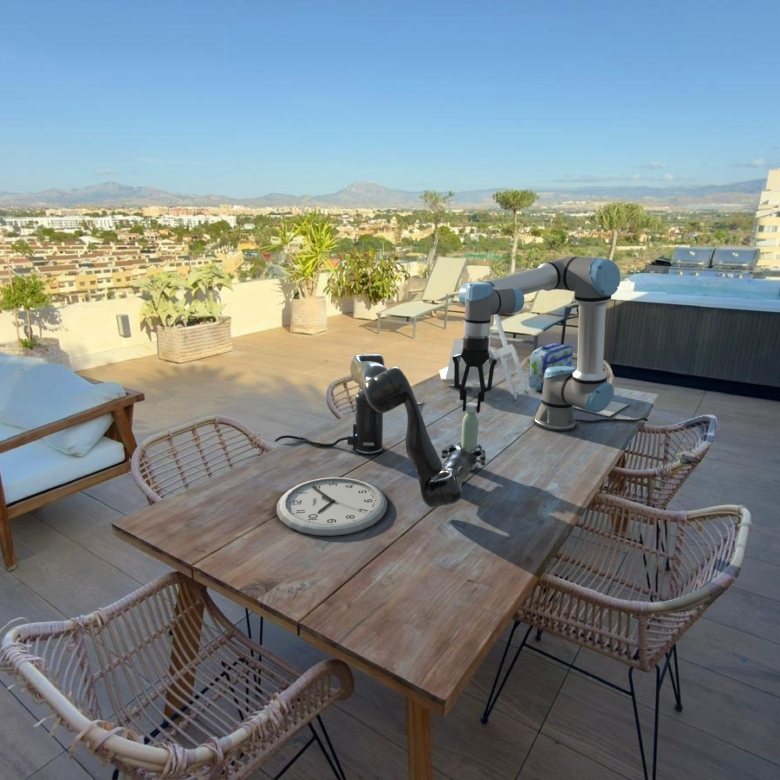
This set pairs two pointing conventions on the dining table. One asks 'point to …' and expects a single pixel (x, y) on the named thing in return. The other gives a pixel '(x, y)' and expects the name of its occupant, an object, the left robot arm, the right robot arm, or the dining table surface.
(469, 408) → the cap
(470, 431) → the bottle
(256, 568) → the dining table surface
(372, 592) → the dining table surface
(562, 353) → the lunch box
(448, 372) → the white plastic object
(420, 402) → the fork
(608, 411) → the invitation card
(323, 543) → the dining table surface
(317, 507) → the wall clock
